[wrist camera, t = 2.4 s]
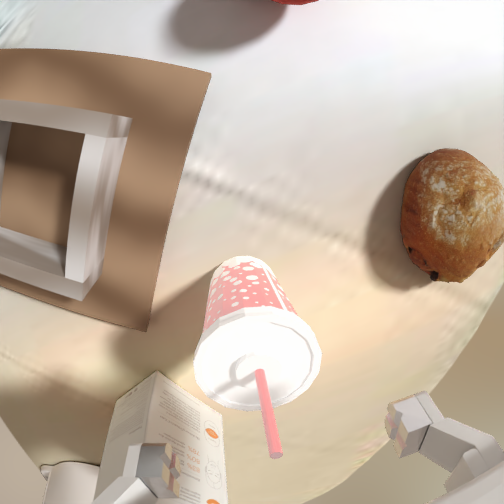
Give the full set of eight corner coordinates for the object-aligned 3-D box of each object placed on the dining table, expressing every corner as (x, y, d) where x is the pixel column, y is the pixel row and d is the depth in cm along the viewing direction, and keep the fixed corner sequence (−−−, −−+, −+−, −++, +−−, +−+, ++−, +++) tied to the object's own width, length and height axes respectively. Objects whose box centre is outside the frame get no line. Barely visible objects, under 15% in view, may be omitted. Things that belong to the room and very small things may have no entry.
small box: (115, 399, 26) (86, 518, 13) (157, 367, 25) (135, 506, 12) (179, 439, 28) (176, 550, 16) (224, 414, 27) (234, 538, 15)
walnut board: (148, 324, 23) (136, 366, 18) (-33, 264, 19) (-66, 288, 15) (211, 76, 18) (209, 57, 13) (-7, 51, 14) (-45, 41, 9)
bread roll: (464, 187, 26) (525, 167, 18) (458, 291, 25) (527, 292, 17) (388, 149, 24) (452, 111, 16) (376, 271, 23) (453, 267, 15)
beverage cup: (183, 299, 23) (162, 470, 10) (229, 228, 21) (252, 374, 8) (254, 334, 24) (290, 497, 11) (302, 271, 23) (390, 421, 10)
